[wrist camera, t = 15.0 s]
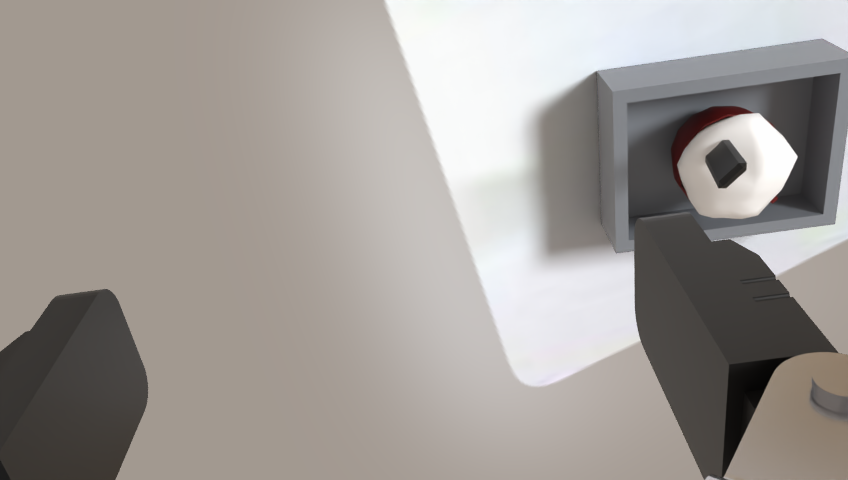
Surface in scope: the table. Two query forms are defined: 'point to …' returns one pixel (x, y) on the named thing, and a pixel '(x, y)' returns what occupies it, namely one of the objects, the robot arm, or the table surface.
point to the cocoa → (730, 162)
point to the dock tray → (723, 86)
